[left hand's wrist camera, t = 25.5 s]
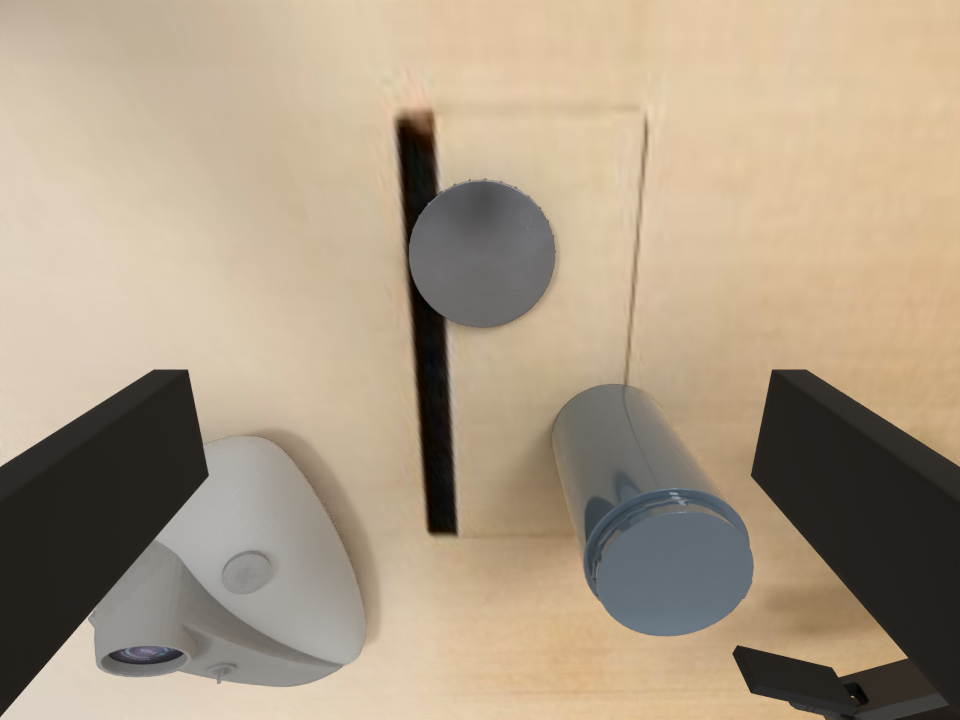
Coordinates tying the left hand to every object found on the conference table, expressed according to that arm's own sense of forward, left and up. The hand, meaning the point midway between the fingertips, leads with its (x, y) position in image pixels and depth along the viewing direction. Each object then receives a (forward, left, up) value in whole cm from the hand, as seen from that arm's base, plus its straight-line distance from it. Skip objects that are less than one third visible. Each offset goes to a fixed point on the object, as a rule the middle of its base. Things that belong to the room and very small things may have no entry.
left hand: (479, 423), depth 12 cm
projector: (0, -30, -26) cm, 40 cm away
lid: (0, 0, -25) cm, 25 cm away
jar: (+16, -6, -26) cm, 31 cm away
